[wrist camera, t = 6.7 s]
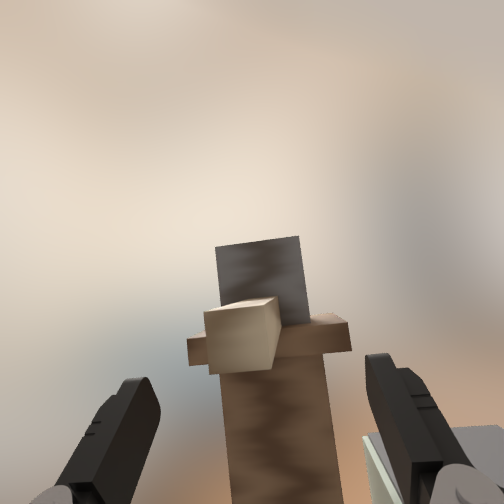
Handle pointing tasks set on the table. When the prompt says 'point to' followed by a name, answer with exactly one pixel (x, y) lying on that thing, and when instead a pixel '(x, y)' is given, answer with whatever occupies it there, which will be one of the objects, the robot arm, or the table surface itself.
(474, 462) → the sage cabinet
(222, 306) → the hammer
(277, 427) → the wooden t-shaped stand
